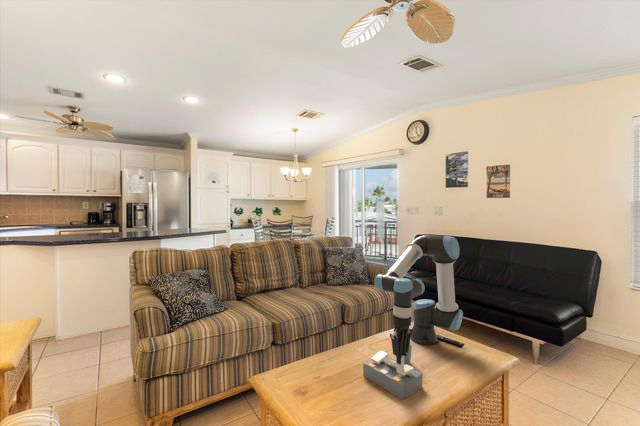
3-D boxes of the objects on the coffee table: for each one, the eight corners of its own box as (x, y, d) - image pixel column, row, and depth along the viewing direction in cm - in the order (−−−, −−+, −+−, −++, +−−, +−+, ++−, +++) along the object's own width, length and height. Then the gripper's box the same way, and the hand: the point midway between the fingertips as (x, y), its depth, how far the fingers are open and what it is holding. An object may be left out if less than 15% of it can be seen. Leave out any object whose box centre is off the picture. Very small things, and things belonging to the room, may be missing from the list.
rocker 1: (381, 352, 147) (380, 350, 147) (387, 356, 144) (387, 353, 144) (371, 360, 143) (371, 358, 143) (378, 364, 140) (377, 361, 140)
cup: (411, 367, 151) (412, 347, 150) (395, 365, 152) (396, 345, 152) (410, 359, 158) (410, 340, 158) (395, 357, 160) (395, 338, 159)
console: (382, 366, 151) (383, 351, 151) (422, 387, 134) (422, 370, 134) (363, 375, 143) (363, 360, 142) (402, 399, 125) (402, 382, 125)
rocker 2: (393, 363, 142) (394, 360, 142) (400, 367, 139) (401, 364, 139) (384, 361, 138) (385, 358, 138) (391, 365, 135) (392, 361, 135)
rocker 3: (406, 367, 137) (406, 363, 137) (413, 371, 133) (414, 367, 133) (396, 371, 132) (396, 368, 132) (404, 375, 129) (404, 372, 129)
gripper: (404, 310, 137) (402, 362, 137) (385, 315, 129) (383, 371, 129) (418, 315, 131) (416, 369, 132) (399, 321, 123) (397, 379, 123)
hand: (400, 370), depth 130 cm, fingers closed
